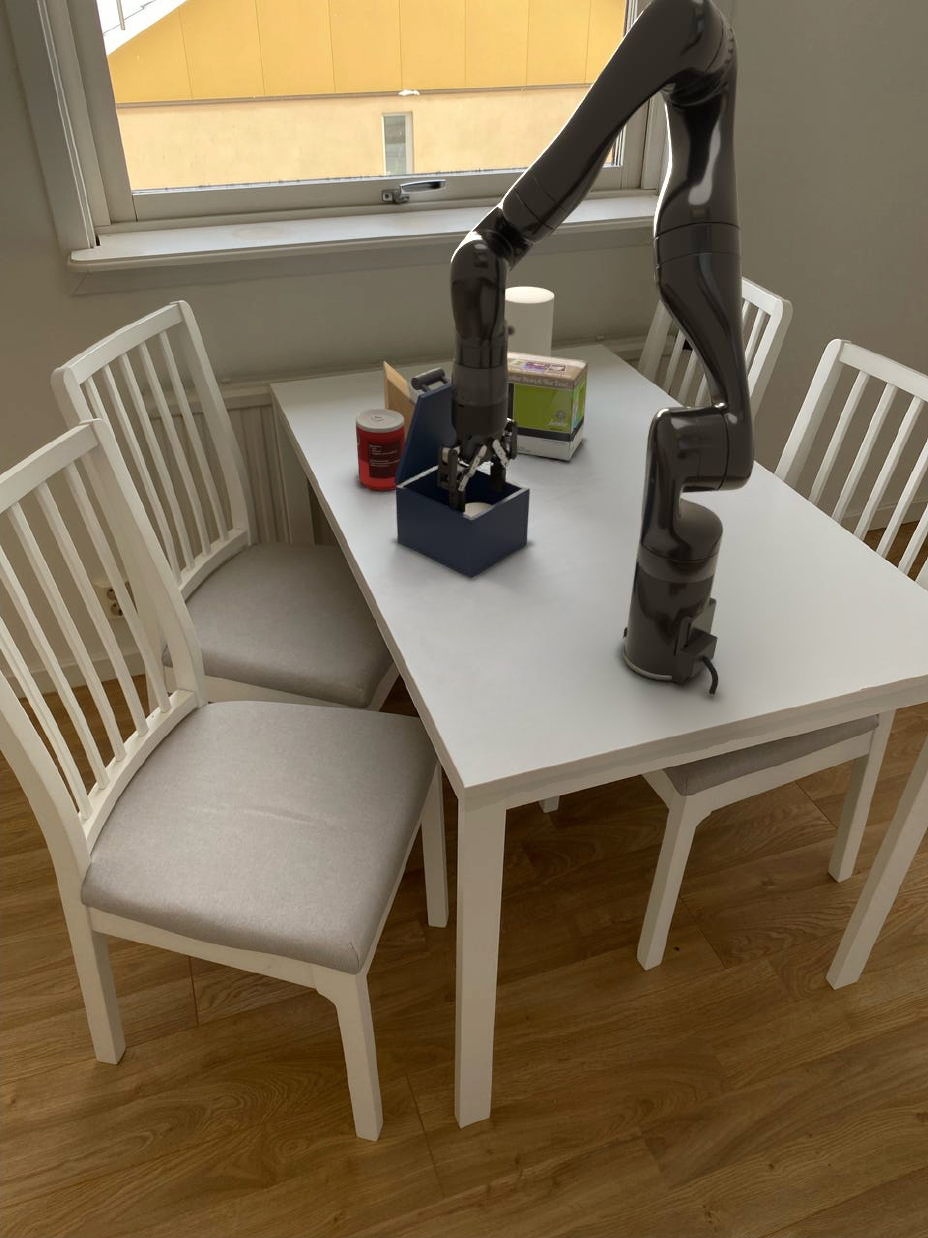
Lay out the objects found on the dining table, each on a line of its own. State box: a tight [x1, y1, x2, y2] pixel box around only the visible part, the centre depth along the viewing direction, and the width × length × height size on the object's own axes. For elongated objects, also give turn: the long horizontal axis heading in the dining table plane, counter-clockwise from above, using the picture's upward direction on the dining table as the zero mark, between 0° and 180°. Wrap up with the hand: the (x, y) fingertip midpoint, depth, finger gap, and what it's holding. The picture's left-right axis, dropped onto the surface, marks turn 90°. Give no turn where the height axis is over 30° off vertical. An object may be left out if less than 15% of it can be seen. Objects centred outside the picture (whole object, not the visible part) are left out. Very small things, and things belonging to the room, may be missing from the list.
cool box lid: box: [394, 367, 457, 485], centre depth 137 cm, size 16×13×5 cm
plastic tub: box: [464, 502, 492, 517], centre depth 140 cm, size 6×6×6 cm
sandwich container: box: [382, 360, 421, 441], centre depth 165 cm, size 9×15×15 cm, turn 99°
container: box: [505, 286, 555, 357], centre depth 182 cm, size 10×10×20 cm
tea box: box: [507, 351, 589, 461], centre depth 167 cm, size 15×10×15 cm, turn 70°
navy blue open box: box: [395, 460, 531, 579], centre depth 141 cm, size 15×13×9 cm
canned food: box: [355, 408, 405, 492], centre depth 156 cm, size 8×8×11 cm
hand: (477, 500), depth 137 cm, fingers open, 8 cm apart
